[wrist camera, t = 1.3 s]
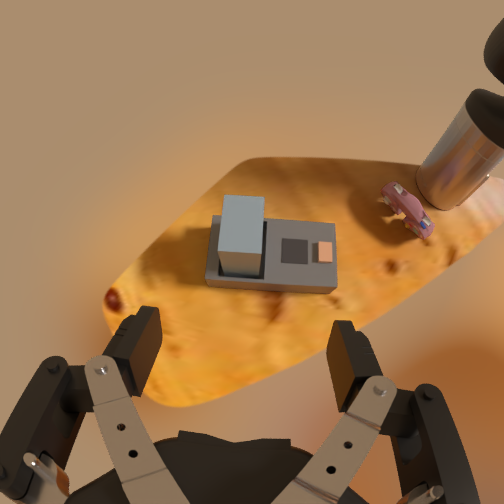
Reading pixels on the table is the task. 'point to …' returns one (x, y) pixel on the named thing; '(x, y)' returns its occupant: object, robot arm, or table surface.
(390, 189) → the pink curved toy
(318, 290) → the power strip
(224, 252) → the block
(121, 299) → the table surface
